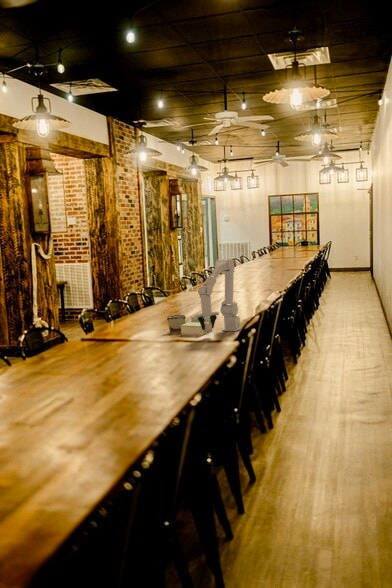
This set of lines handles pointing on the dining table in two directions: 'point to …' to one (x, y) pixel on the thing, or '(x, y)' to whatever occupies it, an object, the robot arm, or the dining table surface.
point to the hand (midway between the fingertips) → (207, 328)
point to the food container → (176, 322)
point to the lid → (195, 322)
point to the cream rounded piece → (208, 326)
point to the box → (192, 331)
